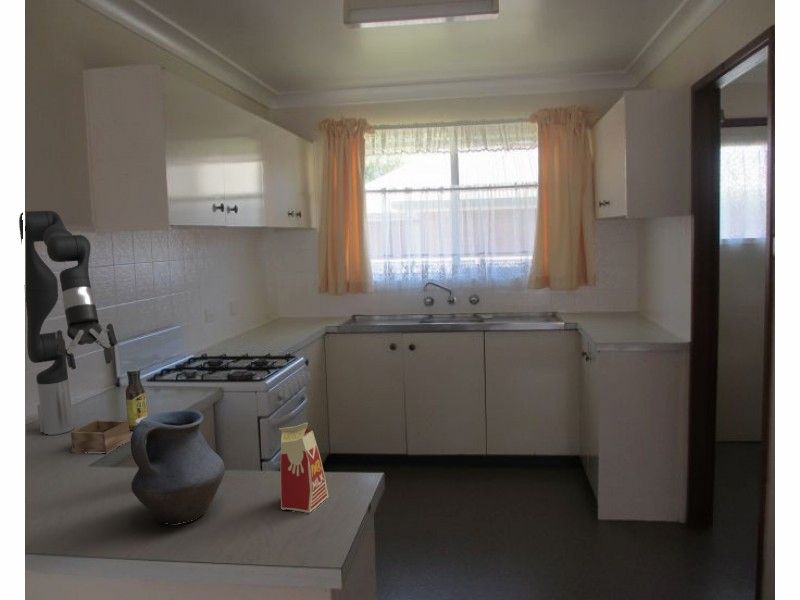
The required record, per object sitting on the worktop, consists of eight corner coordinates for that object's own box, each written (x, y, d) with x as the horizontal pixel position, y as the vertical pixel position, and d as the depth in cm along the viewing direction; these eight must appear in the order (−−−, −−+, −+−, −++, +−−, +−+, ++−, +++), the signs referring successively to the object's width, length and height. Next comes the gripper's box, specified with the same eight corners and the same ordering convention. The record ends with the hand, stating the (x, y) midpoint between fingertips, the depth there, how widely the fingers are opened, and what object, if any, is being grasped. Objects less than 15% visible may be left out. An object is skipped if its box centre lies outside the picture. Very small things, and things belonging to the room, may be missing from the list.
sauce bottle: (141, 431, 215) (135, 372, 212) (124, 431, 216) (118, 372, 213) (152, 425, 221) (146, 367, 218) (136, 424, 222) (130, 367, 220)
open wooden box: (71, 452, 198) (68, 432, 197) (98, 438, 210) (96, 419, 209) (106, 454, 195) (104, 434, 194) (132, 439, 207) (130, 420, 206)
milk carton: (328, 497, 157) (323, 417, 155) (311, 514, 149) (305, 429, 146) (294, 493, 160) (289, 415, 158) (276, 510, 152) (269, 427, 149)
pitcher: (246, 503, 156) (238, 401, 153) (182, 546, 137) (171, 431, 133) (179, 491, 165) (170, 395, 162) (110, 531, 145) (98, 423, 142)
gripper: (104, 307, 181) (116, 364, 179) (48, 313, 173) (58, 373, 170) (111, 300, 176) (123, 358, 173) (53, 306, 167) (64, 368, 165)
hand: (91, 366), depth 172 cm, fingers open, 8 cm apart
